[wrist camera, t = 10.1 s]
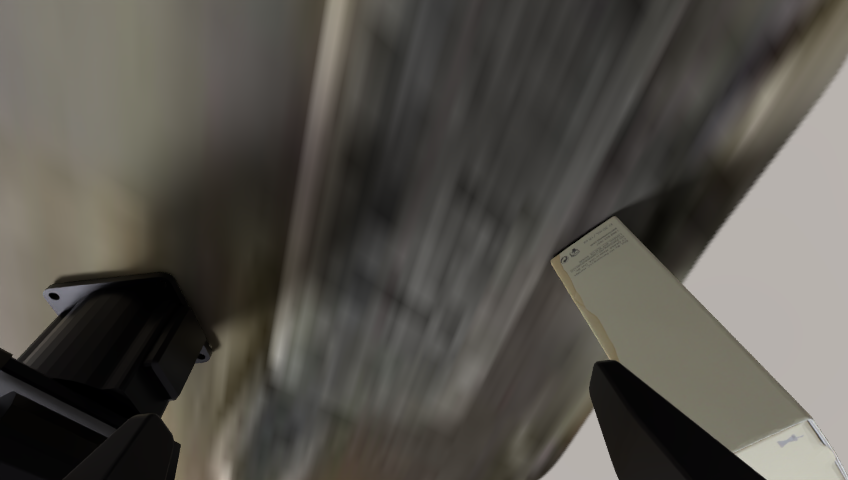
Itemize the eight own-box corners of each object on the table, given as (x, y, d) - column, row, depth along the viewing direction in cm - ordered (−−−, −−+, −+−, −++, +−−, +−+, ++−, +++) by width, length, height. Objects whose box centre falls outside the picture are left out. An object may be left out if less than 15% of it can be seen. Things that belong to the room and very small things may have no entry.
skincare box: (546, 258, 23) (670, 478, 13) (616, 210, 22) (815, 415, 12) (599, 316, 26) (735, 534, 16) (664, 276, 25) (858, 488, 15)
